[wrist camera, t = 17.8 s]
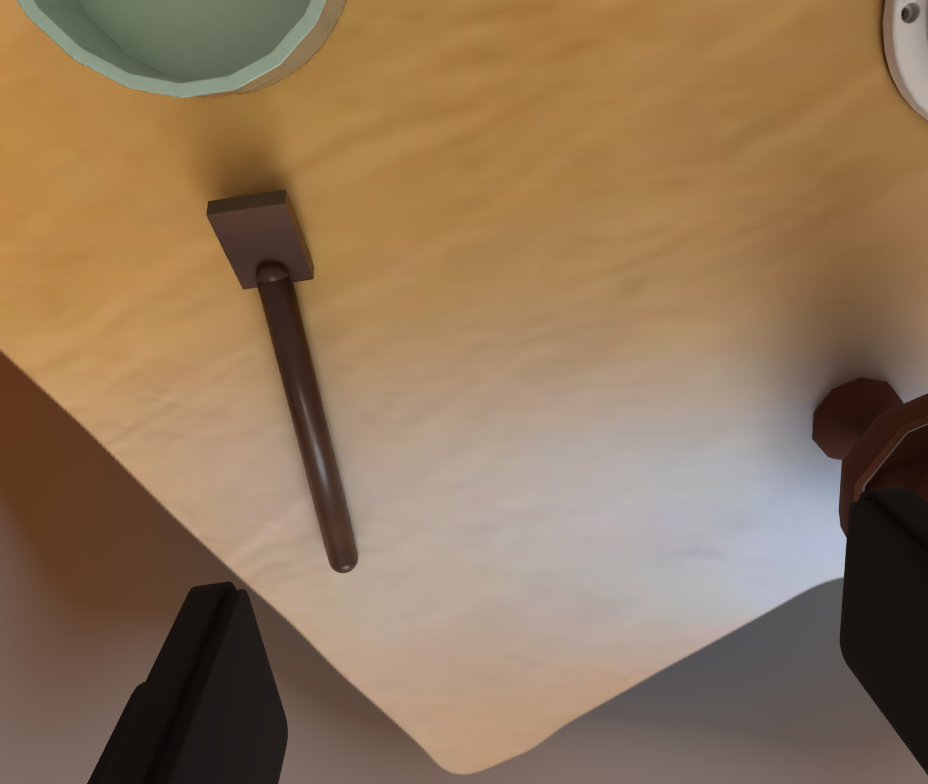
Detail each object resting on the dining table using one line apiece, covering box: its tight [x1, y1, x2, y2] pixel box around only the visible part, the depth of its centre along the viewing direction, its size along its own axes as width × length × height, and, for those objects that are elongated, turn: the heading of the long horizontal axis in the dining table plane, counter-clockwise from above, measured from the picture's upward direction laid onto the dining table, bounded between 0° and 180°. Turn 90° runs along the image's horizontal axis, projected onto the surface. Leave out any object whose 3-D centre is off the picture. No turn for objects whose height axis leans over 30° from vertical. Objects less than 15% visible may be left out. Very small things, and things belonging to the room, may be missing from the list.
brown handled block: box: [206, 190, 358, 573], centre depth 40 cm, size 21×4×11 cm
